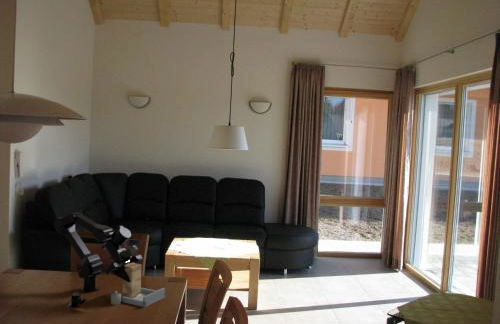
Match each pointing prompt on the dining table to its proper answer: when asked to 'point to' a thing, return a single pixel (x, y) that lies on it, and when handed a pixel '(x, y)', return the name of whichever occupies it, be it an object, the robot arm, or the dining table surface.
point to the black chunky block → (76, 300)
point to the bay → (139, 297)
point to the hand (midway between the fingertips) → (134, 280)
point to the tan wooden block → (132, 280)
